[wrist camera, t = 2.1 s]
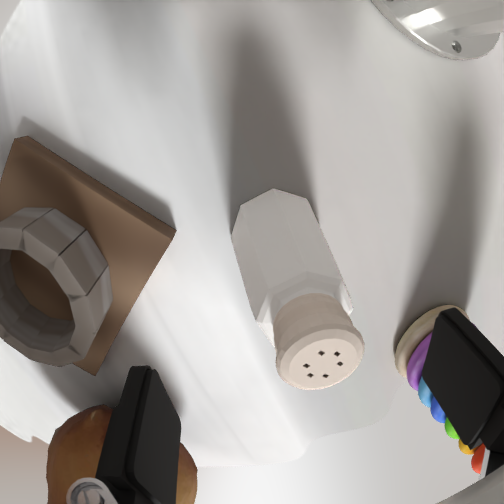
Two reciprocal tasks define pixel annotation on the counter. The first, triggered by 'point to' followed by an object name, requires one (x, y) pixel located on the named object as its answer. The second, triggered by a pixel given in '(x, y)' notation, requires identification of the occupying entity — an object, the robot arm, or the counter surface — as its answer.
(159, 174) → the counter surface
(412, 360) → the stacking toy
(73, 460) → the butternut squash
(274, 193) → the pepper shaker
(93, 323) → the shaft housing
